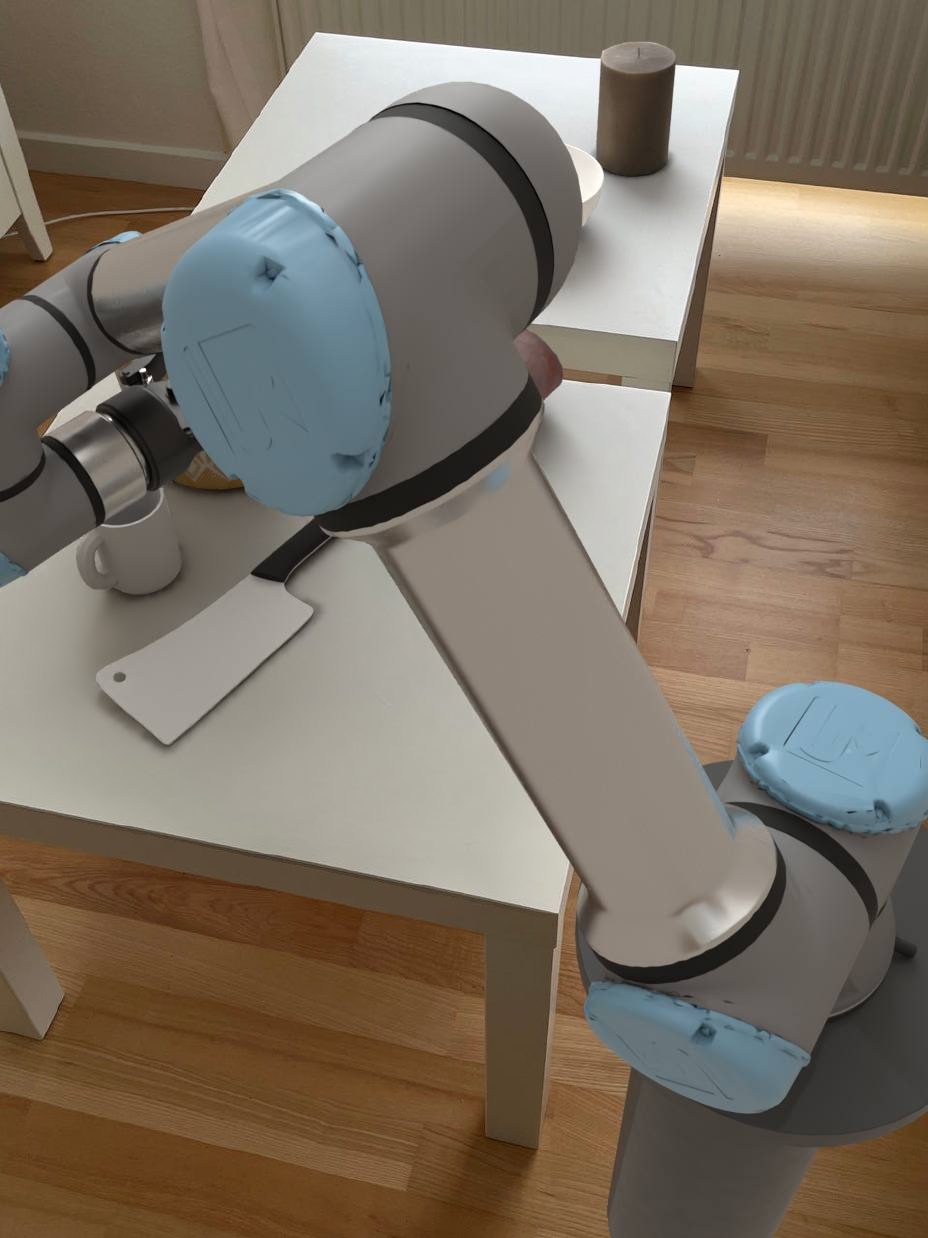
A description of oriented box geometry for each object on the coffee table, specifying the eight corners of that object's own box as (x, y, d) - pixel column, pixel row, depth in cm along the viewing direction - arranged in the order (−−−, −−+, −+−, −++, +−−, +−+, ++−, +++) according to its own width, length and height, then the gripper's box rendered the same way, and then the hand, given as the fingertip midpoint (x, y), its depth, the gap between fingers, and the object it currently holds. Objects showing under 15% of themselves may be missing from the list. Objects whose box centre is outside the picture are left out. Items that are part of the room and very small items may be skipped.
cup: (199, 563, 119) (180, 493, 112) (119, 626, 113) (95, 557, 107) (147, 532, 122) (126, 462, 115) (68, 592, 116) (41, 523, 110)
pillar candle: (659, 180, 164) (669, 66, 153) (587, 171, 166) (592, 58, 155) (674, 145, 170) (685, 33, 159) (604, 137, 172) (610, 26, 161)
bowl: (628, 244, 154) (632, 190, 148) (495, 283, 149) (494, 229, 144) (557, 179, 165) (559, 126, 160) (432, 213, 160) (429, 160, 155)
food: (488, 375, 135) (487, 304, 128) (564, 402, 132) (567, 331, 125) (376, 488, 123) (369, 416, 117) (457, 521, 120) (454, 449, 113)
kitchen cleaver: (166, 741, 103) (85, 675, 107) (168, 752, 105) (88, 687, 108) (410, 533, 119) (333, 482, 123) (410, 545, 121) (333, 494, 124)
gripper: (40, 422, 102) (239, 309, 112) (236, 564, 90) (439, 423, 100) (12, 346, 96) (225, 233, 106) (217, 486, 84) (434, 345, 94)
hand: (329, 325), depth 103 cm, fingers open, 13 cm apart
